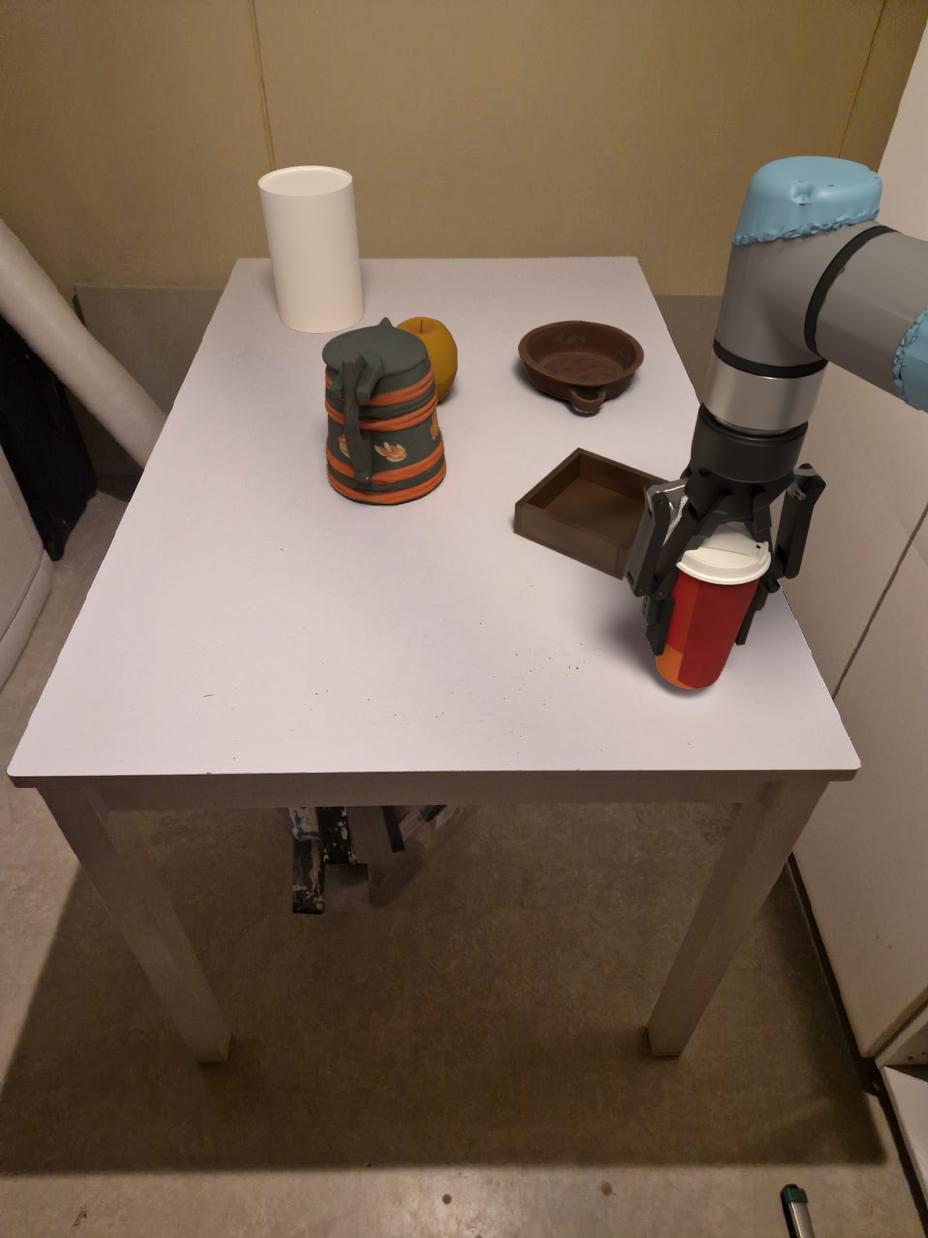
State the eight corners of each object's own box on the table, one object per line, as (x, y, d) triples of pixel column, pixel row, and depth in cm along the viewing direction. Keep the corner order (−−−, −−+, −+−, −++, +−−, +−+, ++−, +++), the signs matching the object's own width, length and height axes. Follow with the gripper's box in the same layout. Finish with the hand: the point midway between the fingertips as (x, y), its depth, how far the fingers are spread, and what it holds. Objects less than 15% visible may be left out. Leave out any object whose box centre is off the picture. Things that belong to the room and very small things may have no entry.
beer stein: (434, 535, 93) (429, 372, 79) (307, 527, 94) (279, 365, 80) (452, 442, 107) (449, 289, 93) (340, 437, 108) (321, 284, 94)
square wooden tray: (678, 515, 96) (684, 486, 93) (621, 580, 88) (626, 550, 85) (575, 475, 102) (578, 446, 99) (513, 532, 94) (514, 503, 91)
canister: (296, 293, 139) (277, 163, 125) (374, 299, 137) (363, 168, 123) (267, 328, 130) (243, 192, 116) (350, 336, 128) (335, 198, 114)
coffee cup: (746, 654, 77) (788, 526, 66) (715, 712, 72) (755, 583, 62) (662, 621, 80) (689, 494, 70) (626, 675, 75) (650, 546, 65)
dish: (520, 421, 110) (522, 387, 107) (513, 344, 126) (514, 312, 122) (650, 421, 110) (657, 387, 107) (627, 344, 126) (632, 312, 122)
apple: (391, 422, 110) (384, 339, 102) (385, 386, 117) (378, 305, 109) (463, 416, 111) (462, 333, 103) (453, 380, 118) (452, 300, 110)
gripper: (860, 371, 62) (781, 598, 77) (602, 395, 59) (576, 623, 75) (915, 423, 56) (818, 656, 72) (634, 451, 54) (598, 684, 70)
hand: (694, 639), depth 74 cm, fingers closed on coffee cup, 7 cm apart
